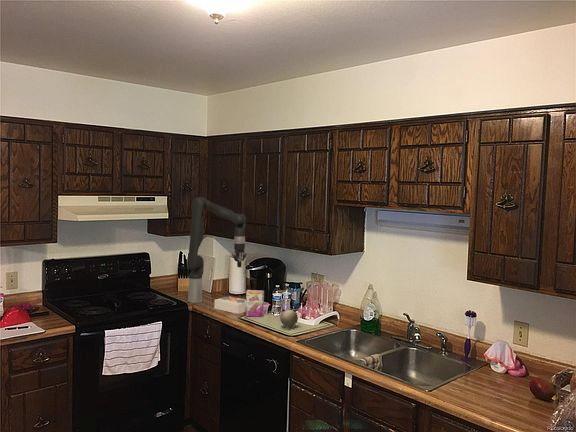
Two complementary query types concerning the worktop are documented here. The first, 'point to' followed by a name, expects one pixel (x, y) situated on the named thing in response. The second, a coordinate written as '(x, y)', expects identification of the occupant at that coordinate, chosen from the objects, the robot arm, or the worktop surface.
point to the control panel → (230, 305)
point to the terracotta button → (233, 299)
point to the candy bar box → (254, 303)
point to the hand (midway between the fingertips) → (239, 267)
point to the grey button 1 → (225, 298)
